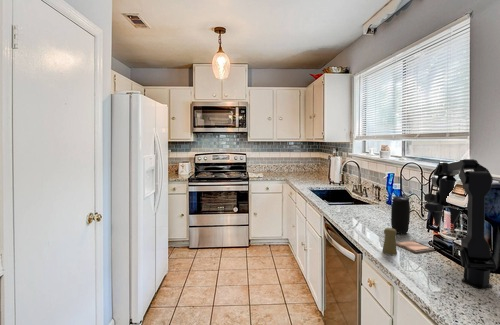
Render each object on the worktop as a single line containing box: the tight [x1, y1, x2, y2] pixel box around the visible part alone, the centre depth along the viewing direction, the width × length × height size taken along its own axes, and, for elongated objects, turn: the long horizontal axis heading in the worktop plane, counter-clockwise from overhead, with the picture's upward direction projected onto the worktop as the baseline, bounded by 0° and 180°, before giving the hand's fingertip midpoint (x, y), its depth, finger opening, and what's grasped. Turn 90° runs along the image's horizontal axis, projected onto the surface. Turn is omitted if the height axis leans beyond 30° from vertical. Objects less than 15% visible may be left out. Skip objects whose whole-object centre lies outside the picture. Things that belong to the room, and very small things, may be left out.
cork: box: [381, 227, 398, 256], centre depth 132 cm, size 6×6×11 cm
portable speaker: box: [390, 195, 411, 235], centre depth 160 cm, size 9×9×20 cm
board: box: [396, 238, 435, 255], centre depth 140 cm, size 12×20×1 cm, turn 108°
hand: (444, 224), depth 131 cm, fingers open, 9 cm apart
